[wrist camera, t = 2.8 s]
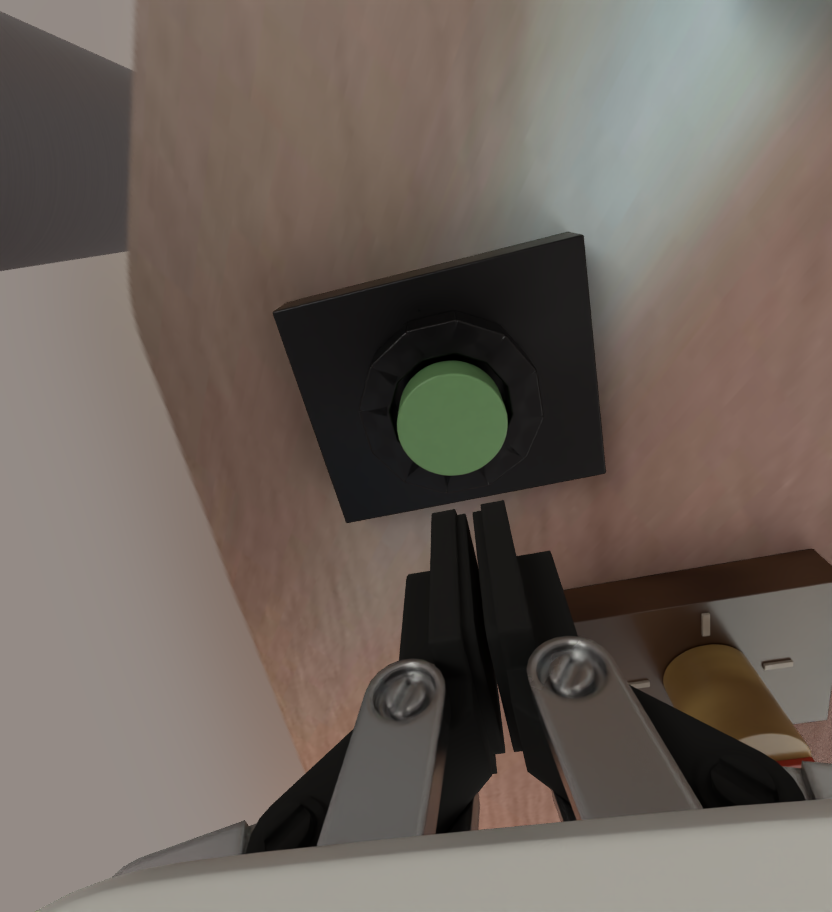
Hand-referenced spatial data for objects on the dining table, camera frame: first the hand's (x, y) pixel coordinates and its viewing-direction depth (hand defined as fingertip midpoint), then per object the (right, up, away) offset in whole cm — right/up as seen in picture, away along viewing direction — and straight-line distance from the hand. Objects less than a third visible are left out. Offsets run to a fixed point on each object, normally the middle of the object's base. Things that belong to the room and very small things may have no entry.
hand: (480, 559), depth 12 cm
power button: (0, +4, +8) cm, 9 cm away
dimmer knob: (+14, -9, +16) cm, 23 cm away
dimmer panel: (+14, -8, +18) cm, 24 cm away
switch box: (0, +6, +12) cm, 13 cm away
